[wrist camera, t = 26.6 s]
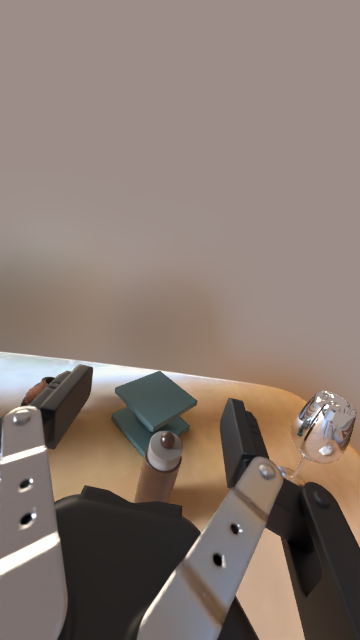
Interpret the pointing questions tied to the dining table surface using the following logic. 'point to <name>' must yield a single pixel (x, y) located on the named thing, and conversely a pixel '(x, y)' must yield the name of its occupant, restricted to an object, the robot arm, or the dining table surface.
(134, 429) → the stand
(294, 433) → the wineglass
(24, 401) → the brown clay hollow piece
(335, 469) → the dining table surface
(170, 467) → the pepper mill
